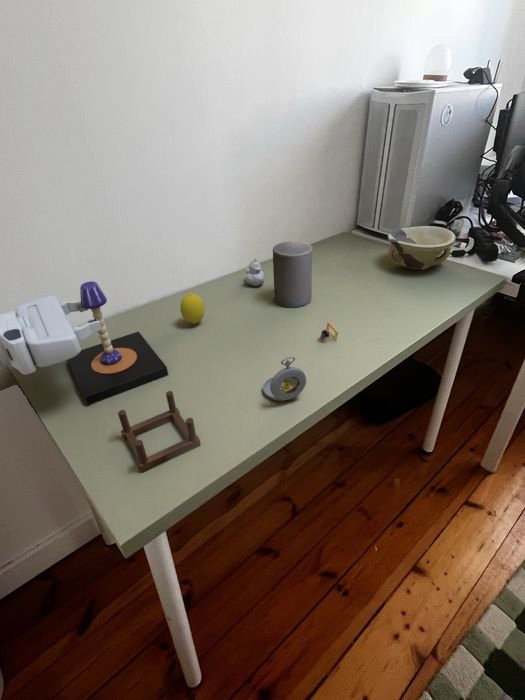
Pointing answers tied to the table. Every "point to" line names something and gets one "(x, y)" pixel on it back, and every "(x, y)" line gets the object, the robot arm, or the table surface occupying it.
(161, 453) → the rack
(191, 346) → the table surface
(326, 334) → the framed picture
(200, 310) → the lemon
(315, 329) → the table surface
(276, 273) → the pillar candle
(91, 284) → the toy lamp
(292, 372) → the pocket watch
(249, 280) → the rubber duck
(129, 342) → the stove
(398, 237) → the bowl
